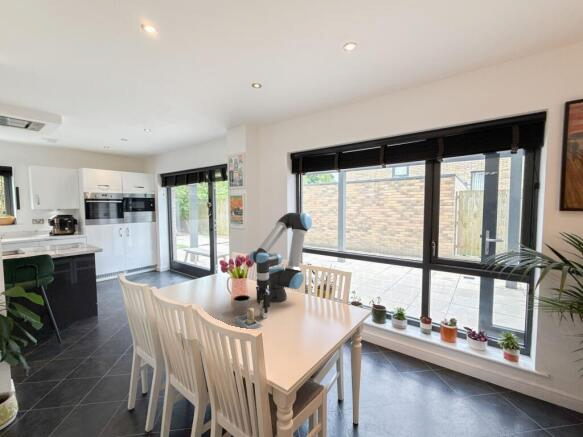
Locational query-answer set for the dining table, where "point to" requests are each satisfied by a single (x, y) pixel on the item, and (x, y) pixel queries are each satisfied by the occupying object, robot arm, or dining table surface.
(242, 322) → the board
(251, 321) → the peg
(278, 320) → the dining table surface
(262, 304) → the peg
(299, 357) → the dining table surface
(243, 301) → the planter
